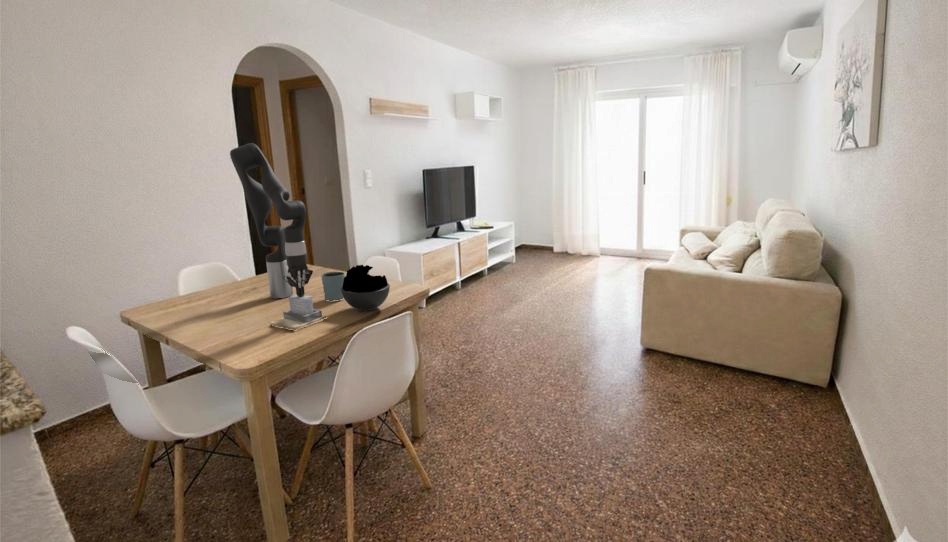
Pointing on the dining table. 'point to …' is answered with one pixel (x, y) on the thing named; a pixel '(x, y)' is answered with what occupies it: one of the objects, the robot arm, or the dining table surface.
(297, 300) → the medicine box
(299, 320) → the jig
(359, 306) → the coal bowl
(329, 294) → the teal cup
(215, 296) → the dining table surface
